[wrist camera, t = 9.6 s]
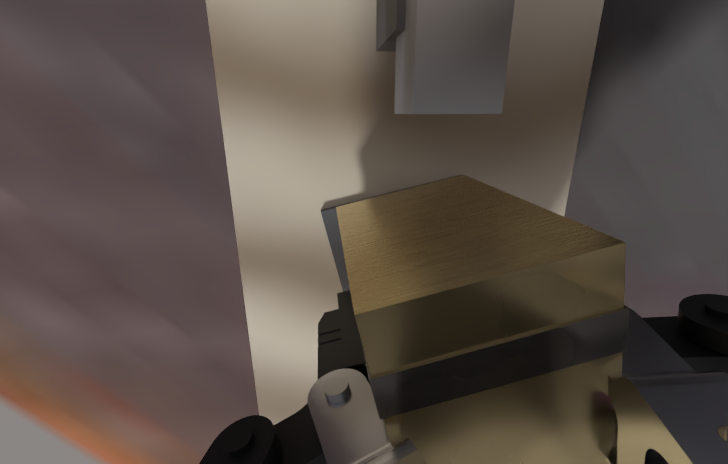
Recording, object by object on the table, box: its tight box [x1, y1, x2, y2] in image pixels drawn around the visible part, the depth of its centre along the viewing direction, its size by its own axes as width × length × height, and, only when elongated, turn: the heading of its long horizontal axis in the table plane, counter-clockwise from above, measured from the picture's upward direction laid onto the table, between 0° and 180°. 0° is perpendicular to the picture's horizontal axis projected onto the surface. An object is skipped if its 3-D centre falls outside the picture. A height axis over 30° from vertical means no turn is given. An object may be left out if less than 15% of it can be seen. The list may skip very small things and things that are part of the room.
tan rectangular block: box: [336, 175, 630, 464], centre depth 9 cm, size 7×4×6 cm, turn 13°
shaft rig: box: [206, 0, 604, 425], centre depth 12 cm, size 20×12×6 cm, turn 0°
